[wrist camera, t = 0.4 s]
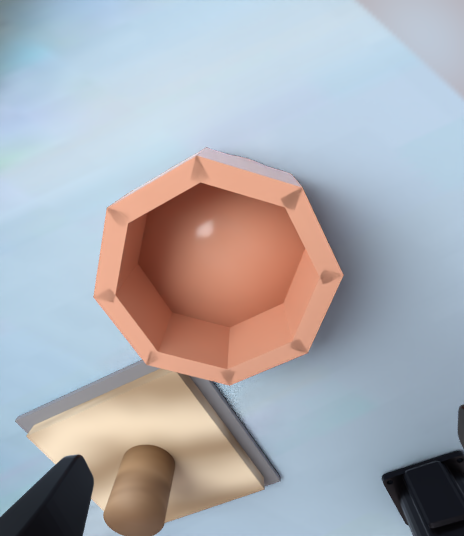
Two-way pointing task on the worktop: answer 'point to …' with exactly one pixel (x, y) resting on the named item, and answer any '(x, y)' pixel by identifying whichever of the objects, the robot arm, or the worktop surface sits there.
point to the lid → (151, 452)
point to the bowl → (216, 268)
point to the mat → (139, 371)
